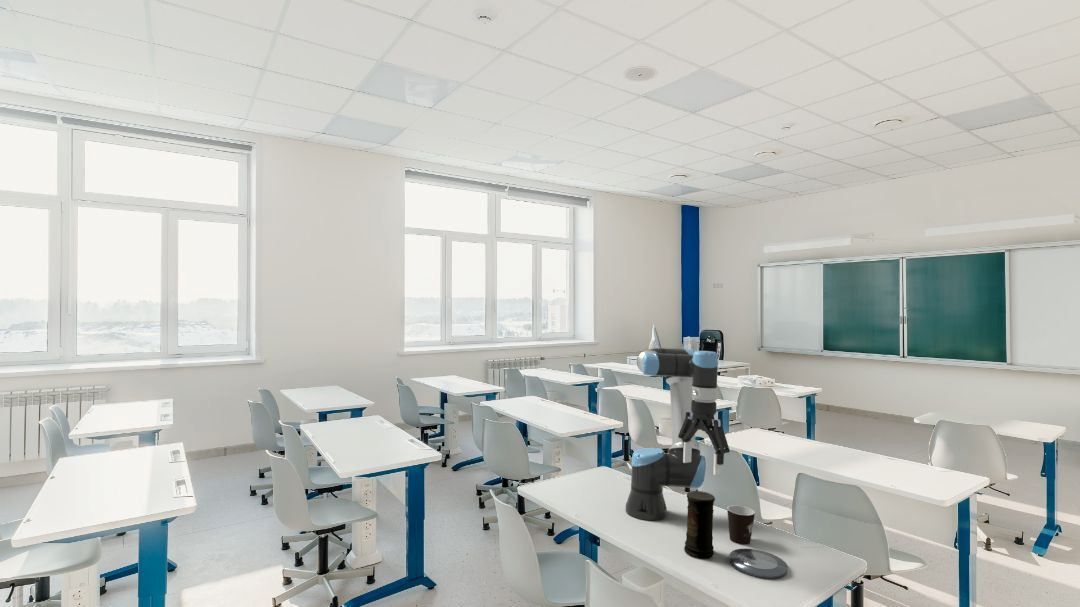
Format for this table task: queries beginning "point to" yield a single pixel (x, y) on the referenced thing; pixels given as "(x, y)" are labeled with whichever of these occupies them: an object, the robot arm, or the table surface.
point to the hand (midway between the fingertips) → (701, 468)
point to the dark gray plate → (758, 563)
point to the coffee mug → (740, 524)
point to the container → (699, 525)
